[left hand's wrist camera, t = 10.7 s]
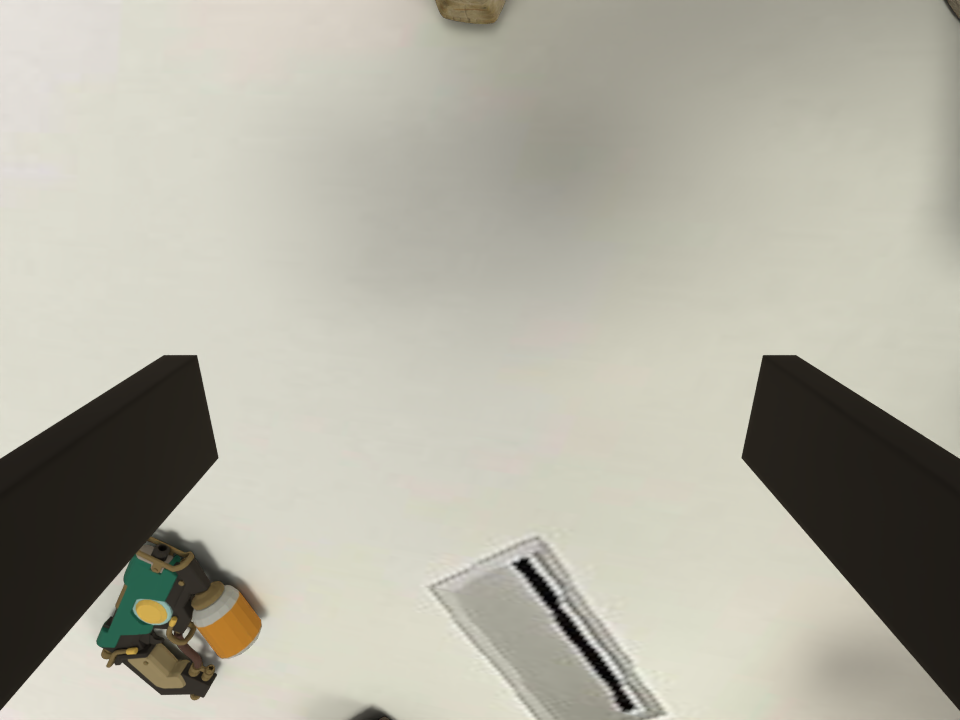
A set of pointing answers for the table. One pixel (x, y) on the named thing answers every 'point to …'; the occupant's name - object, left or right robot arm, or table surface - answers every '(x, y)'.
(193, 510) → the table surface
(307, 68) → the table surface
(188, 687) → the spray gun
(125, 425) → the left robot arm
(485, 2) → the sculpture
